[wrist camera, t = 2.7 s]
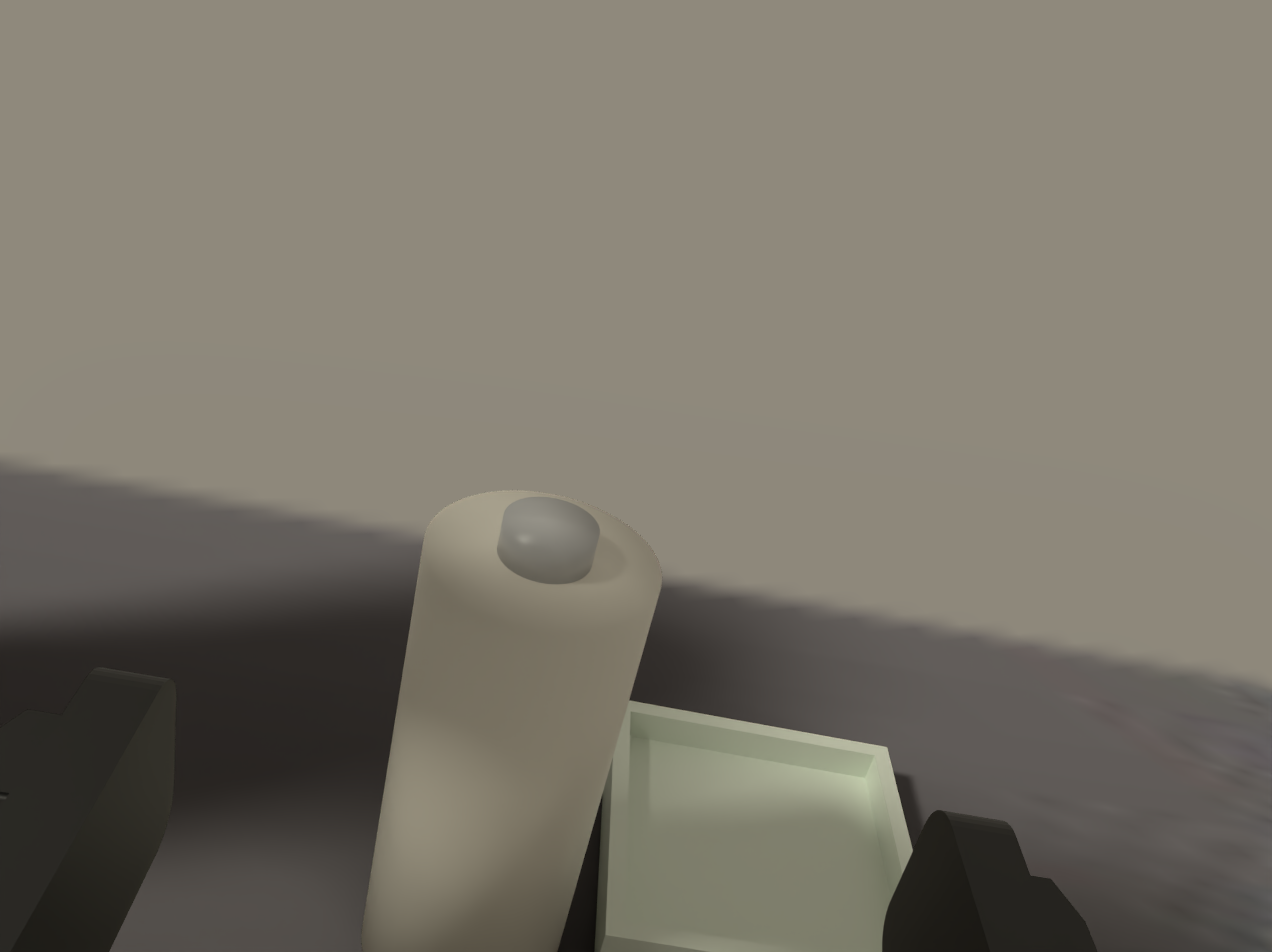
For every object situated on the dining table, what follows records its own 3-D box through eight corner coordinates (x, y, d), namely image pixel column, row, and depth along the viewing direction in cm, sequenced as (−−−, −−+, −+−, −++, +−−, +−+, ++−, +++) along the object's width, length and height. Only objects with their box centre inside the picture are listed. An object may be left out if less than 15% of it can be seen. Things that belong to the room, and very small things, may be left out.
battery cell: (340, 1008, 28) (407, 569, 22) (383, 845, 32) (448, 441, 26) (549, 1039, 28) (672, 619, 22) (562, 875, 33) (669, 485, 26)
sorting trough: (593, 973, 30) (605, 934, 29) (605, 733, 38) (615, 698, 37) (928, 1026, 31) (947, 989, 30) (872, 780, 39) (886, 747, 38)
